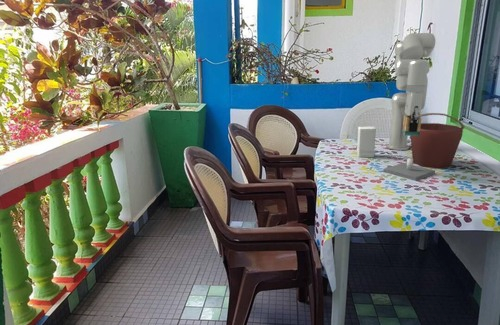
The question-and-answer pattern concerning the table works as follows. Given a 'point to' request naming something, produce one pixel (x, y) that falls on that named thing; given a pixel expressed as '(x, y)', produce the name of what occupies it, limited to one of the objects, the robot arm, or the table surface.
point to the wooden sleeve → (407, 123)
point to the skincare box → (366, 141)
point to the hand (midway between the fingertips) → (411, 129)
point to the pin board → (409, 170)
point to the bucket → (436, 143)
